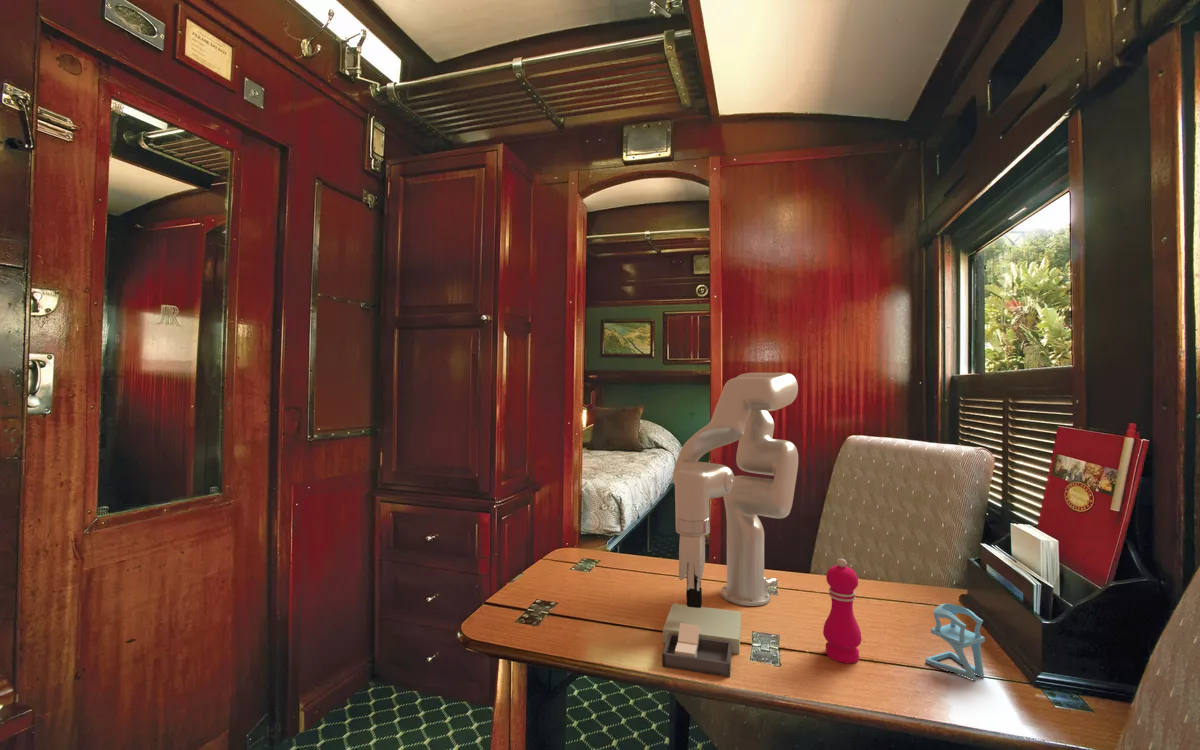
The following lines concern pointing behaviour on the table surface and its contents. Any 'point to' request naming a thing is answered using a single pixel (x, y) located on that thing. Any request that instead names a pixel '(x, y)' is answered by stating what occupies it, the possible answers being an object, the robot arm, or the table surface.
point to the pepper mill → (842, 615)
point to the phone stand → (958, 640)
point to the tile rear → (689, 633)
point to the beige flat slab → (706, 623)
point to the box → (700, 656)
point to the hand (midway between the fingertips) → (694, 605)
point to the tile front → (686, 649)
